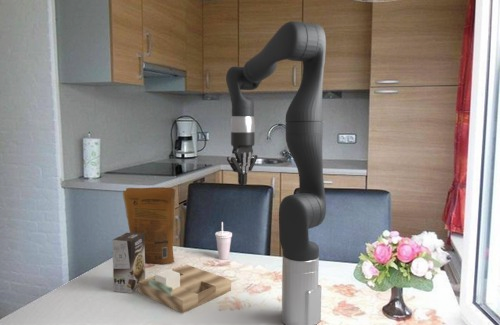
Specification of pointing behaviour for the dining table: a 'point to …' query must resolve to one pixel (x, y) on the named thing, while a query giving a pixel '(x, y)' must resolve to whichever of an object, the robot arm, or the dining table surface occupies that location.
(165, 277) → the block
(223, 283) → the trap deck
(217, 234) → the smoothie
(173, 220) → the pancake mix bag
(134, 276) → the coffee box
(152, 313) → the dining table surface
